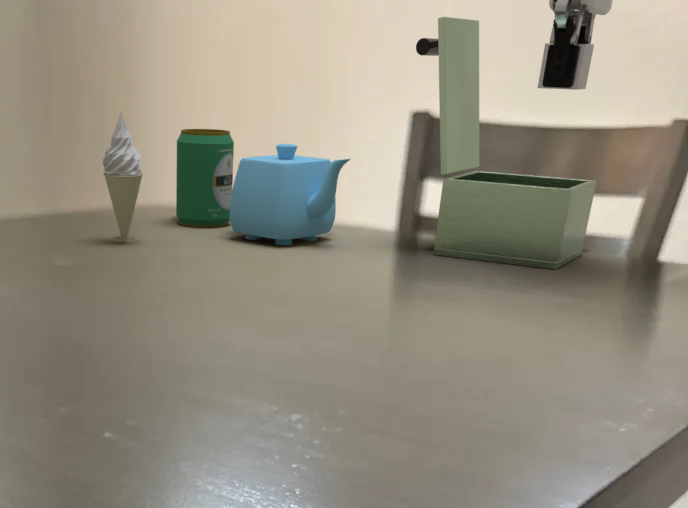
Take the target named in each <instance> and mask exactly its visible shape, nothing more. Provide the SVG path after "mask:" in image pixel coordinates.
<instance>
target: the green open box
mask: <svg viewBox="0 0 688 508" xmlns="http://www.w3.org/2000/svg"><path fill="white" fill-rule="evenodd" d="M596 186H597V180H595V179H593V180H592V179H581V178H570V177H557V176H546V175H545V176H544V175H531V174H521V173H520V174H519V173H508V172H496V171H483V170H475V171H470V172H466V173H462V174H461V173H460V174H458V175H453V176H450V177H446V178H443V180H442V186H441V193H440V194H441V195H440V202H439V209H438V215H437V223H436V230H435V238H434V245H433V252H432V253H433V254H432V255H434V256H441V257H448V258H449V257H450V258H458V259H467V260H473V261H475V260H476V261H483V262H491V263H498V264H499V263H500V264H506V265H513V266H514V265H515V266H523V267H524V266H525V267H531V268H541V269H547V270H558V269H559V268H562V267H563V266H565V265H567V264H568V263H569V262H572V261H573V260H574V259H577V258H578V257H580V256H581V255H582V253H583V247H584V243H585V239H586V234H587V229H588V223H589V219H590V215H591V210H592V206H593V200H594V196H595V190H596Z"/></svg>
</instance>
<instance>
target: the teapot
mask: <svg viewBox="0 0 688 508" xmlns="http://www.w3.org/2000/svg"><path fill="white" fill-rule="evenodd" d="M275 149H276V153H277V154H271V155H259V156H258V155H257V156H247V157H242V158H241V159H240V160H239V163H238V166H237V170H236V173H235V174H236V175H235V178H234V180H233V181H234V182H233V184H232V195H231V202H230V215H229V216H230V220H229V222H230V225H231V228H232V231H233V232H234V233H238V234H243V235H246V236H245V237H244V239H246V240H251V241H253V240H262V239H263V238H266V239H272V240H275V245H279V246H291V245H293V240H296V239H300V240H302V241H306V242H307V241H308V242H309V241H310V242H315V241H318V238H317V236H321V235H324V234H328V233H331V230H332V228H333V225H334V223H335V219H336V207H337V206H336V204H337V203H336V202H337V201H336V199H337V197H336V193H337V187H338V180H339V175H340V172H341V170H342V168H343V167H344V166H345V165H346V164H347V163H348V162H349V161H351V160H352V158H345V159H334V160H333V161H331V160H330V159H329V158H321V157H314V156H313V157H311V156H304V155H296V152H297V149H298V145H297V144H295V143H294V144H293V143H278V144H276V145H275Z"/></svg>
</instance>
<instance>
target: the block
mask: <svg viewBox="0 0 688 508" xmlns="http://www.w3.org/2000/svg"><path fill="white" fill-rule="evenodd" d="M549 46H550V42H545V43H544V48H543V54H542V60H541V64H540V65H541V66H540V72H539V77H538V84H537V89H547V90H548V89H549V90H571V91H572V90H573V91H574V90H575V91H577V90H586V88H587V83H588V78H589V73H590V69H591V64H592V63H591V62H592V58H593V52H594V49H595V44H593V43H591V44H576V46H579V51H578V56H577V62H576V67H575V72H574V77H573V83H572V86H571V87H570V88H555V87H544V86H543V85H542V82H543V77H544V71H545V65H546V60H547V54H548V48H549Z"/></svg>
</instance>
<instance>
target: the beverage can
mask: <svg viewBox="0 0 688 508" xmlns="http://www.w3.org/2000/svg"><path fill="white" fill-rule="evenodd" d="M234 148H235V141H234V139H233V137H232V136H231V131H230V130H225V129H216V128H215V129H214V128H213V129H212V128H184V129H180V134H179V136H178V138H177V139H176V189H175V190H176V202H175V203H176V205H175V206H176V208H175V209H176V210H175V211H176V212H175V215H176V218H177V219H178V221H179V224H180V225H181V226H185V227H192V228H204V229H205V228H208V229H209V228H222V227H223V228H224V227H227V226H228V225H229V222H230V216H229V215H230V202H231V195H232V190H233V184H234V182H233V181H234V180H233V179H234V177H233V176H234V155H235V154H234V151H235V149H234Z"/></svg>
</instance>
